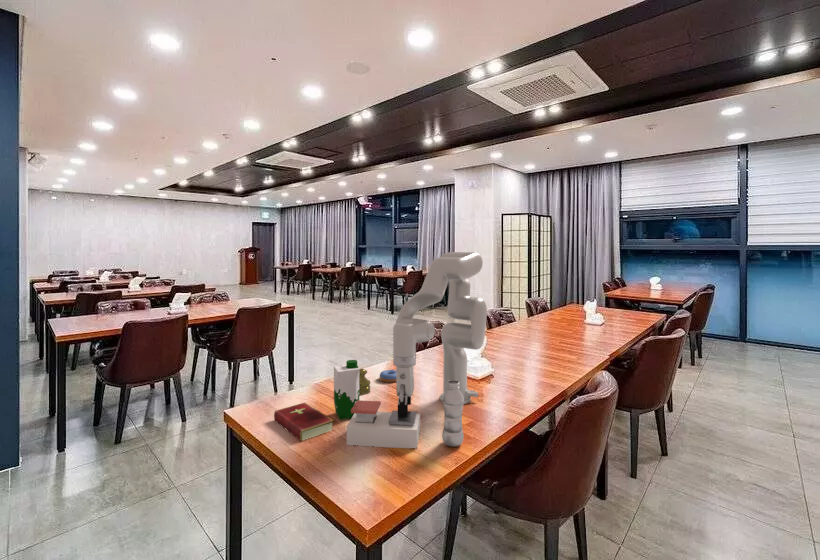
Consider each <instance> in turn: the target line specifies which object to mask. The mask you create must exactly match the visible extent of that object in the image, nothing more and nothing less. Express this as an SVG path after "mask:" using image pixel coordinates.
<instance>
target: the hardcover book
mask: <svg viewBox="0 0 820 560" xmlns="http://www.w3.org/2000/svg"><path fill="white" fill-rule="evenodd" d="M273 418H274V421H275V422H276V421H277V422H278V423H277V422H276V423H277V424H278V425H280V424H281V425H282V426H283V429H285V428H286V429H287V430H288V431H287V430H286V429H285V430H286V431H287V432H288V433H290V434H291V433H292V434H293V435H292V434H291V435H292V436H294V437H295V438H296V437H297V438H298V439H297V438H296V439H297V440H298V441H300V442H301V441H302V440H303V441H306V440H309V439H312V438H315V437H317V436H320V435H323V434H325V433H328V431H329V432H331V430H332V431H333V422H334V421H335V420H334V419H333V418H331V417H329V416H328V415H326V414H324V413H323V412H321V411H320V410H318V409H316V408H315V407H313V406H311V405H310V404H308V403H307V402H302V403H297V404H294V405H289V406H287V407H284V408H280V409H276V410H274V413H273ZM281 425H280V426H281ZM282 426H281V427H282ZM322 433H323V434H322ZM311 437H312V438H311ZM308 438H309V439H308ZM305 439H306V440H305ZM303 441H302V442H303Z"/></svg>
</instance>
